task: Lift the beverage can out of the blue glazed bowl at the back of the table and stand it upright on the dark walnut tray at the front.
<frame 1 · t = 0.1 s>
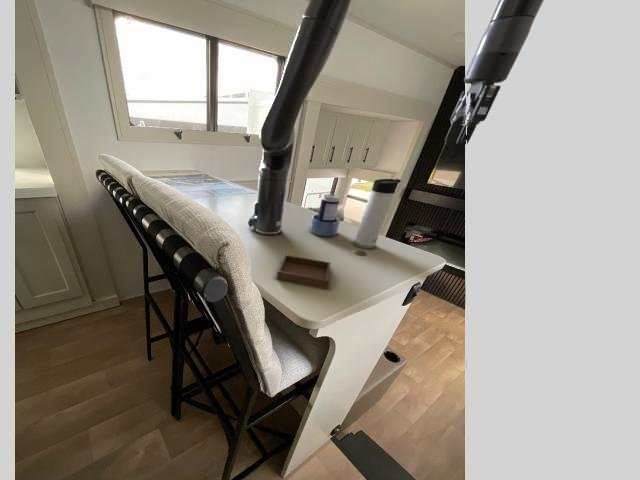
hand: (455, 143, 62), 29 cm above the breakfast bar, tool pointing down, fingers open, 8 cm apart
beverage can: (322, 231, 90), resting on bowl
travel mug: (364, 245, 82), on the breakfast bar
bowl: (322, 232, 90), on the breakfast bar
tray: (303, 273, 65), on the breakfast bar
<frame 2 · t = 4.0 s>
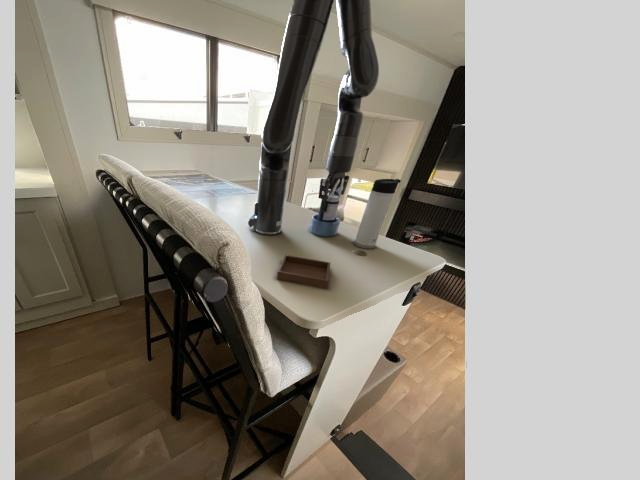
hand: (328, 209, 86), 8 cm above the breakfast bar, tool pointing down, fingers closed on beverage can, 5 cm apart
beverage can: (322, 231, 90), resting on bowl, touching gripper
everything else where it was.
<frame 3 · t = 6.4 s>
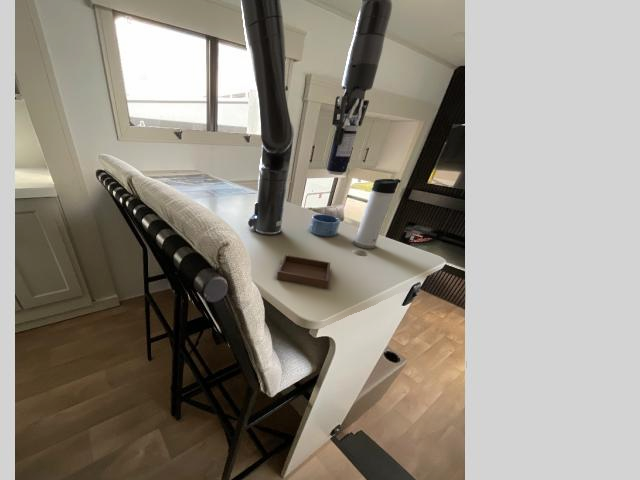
hand: (342, 144, 71), 27 cm above the breakfast bar, tool pointing down, fingers closed on beverage can, 5 cm apart
beverage can: (335, 174, 76), point 20 cm above the breakfast bar, touching gripper
everything else where it was.
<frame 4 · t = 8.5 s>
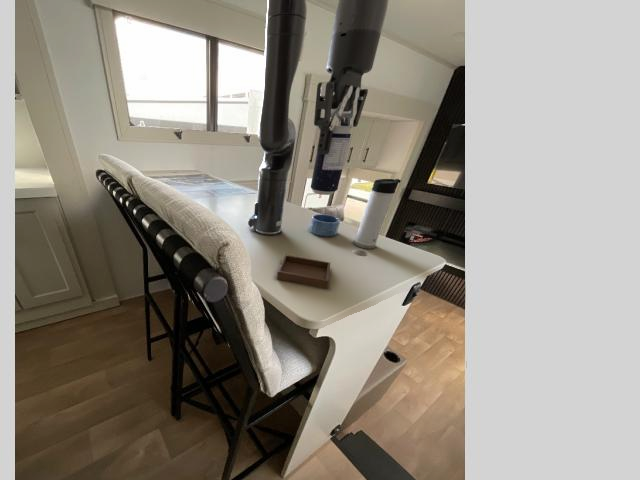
hand: (330, 152, 50), 27 cm above the breakfast bar, tool pointing down, fingers closed on beverage can, 5 cm apart
beverage can: (322, 193, 55), point 20 cm above the breakfast bar, touching gripper
everything else where it was.
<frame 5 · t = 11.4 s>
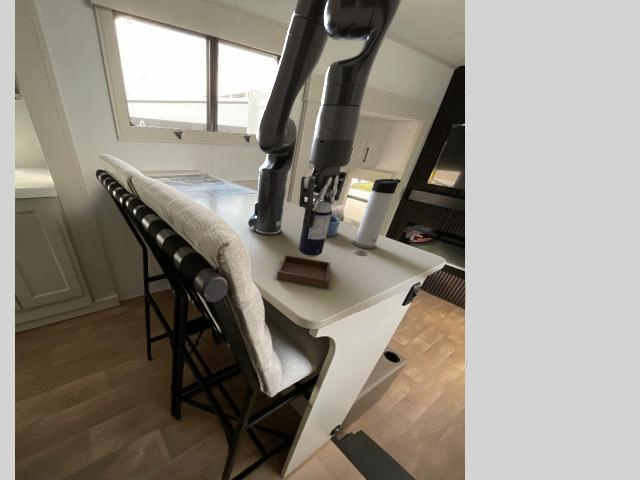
hand: (315, 223, 57), 13 cm above the breakfast bar, tool pointing down, fingers closed on beverage can, 5 cm apart
beverage can: (309, 254, 62), point 6 cm above the breakfast bar, touching gripper
everything else where it was.
when the fingers open (8 cm above the breakfast bar, at t = 13.3 s): beverage can stays where it is, resting on tray.
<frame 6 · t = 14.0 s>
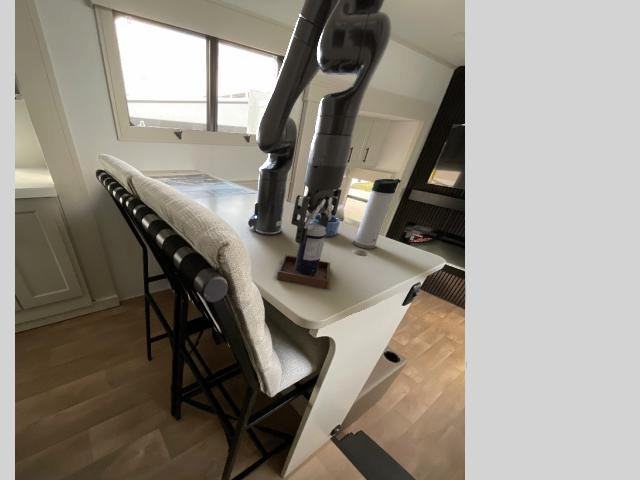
hand: (310, 238, 59), 10 cm above the breakfast bar, tool pointing down, fingers open, 8 cm apart
beverage can: (305, 272, 65), resting on tray
everything else where it was.
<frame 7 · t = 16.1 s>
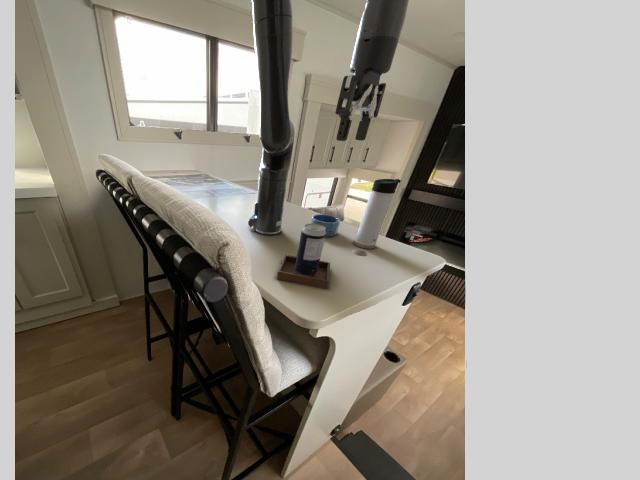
hand: (350, 140, 57), 29 cm above the breakfast bar, tool pointing down, fingers open, 8 cm apart
nothing on the breakfast bar moved.
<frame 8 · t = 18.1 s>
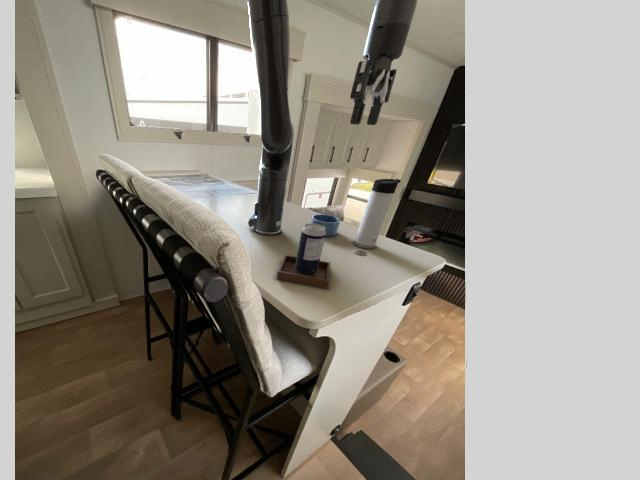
hand: (363, 124, 60), 32 cm above the breakfast bar, tool pointing down, fingers open, 8 cm apart
nothing on the breakfast bar moved.
at the end: beverage can inside the target area in the tray (0.3 cm from its centre), point 0.3 cm above the tray's base; beverage can tilted 0°; the gripper is holding nothing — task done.
